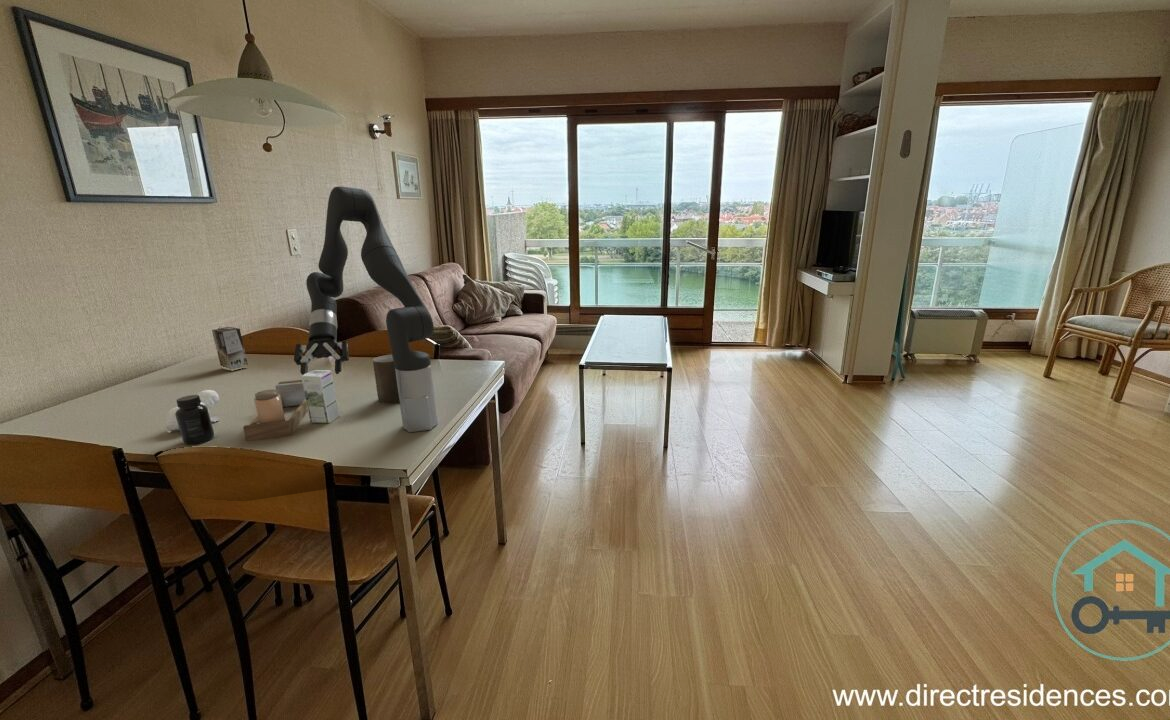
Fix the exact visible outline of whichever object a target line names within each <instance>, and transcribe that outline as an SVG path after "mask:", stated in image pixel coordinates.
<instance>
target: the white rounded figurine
mask: <svg viewBox="0 0 1170 720" xmlns="http://www.w3.org/2000/svg"><path fill="white" fill-rule="evenodd" d="M196 395H199V397H200V400H201V403H200V404H203V405H205V406H206V407H207V408H208V412H209V411H210V410H209V409H211V408H213V407H215V406H216V405H217V404H218V403H219V402H220V396H219V394H218V392H217V391H215V390H213V389H204V390H202V391H199V392H198V393H197V394H196ZM178 409H179V407H178V406H176V407H173V408H171V409H170V410H169V411H168V412H167V413H166V417H165V422H164V425H163V426H162V427H163V428H164V429H165V431H172V432H173V431H180V430H179V427H178V423H177V420H176V416H175V413H176V411H177V410H178ZM209 416H210V419H211V422H212V423H213V422H214V423H217V422H216V421H218V420H219V421H220V418H219V417H218V416H216V415H214V414H211V413H210V412H209ZM219 421H218V422H219Z"/></svg>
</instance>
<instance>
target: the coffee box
mask: <svg viewBox="0 0 1170 720" xmlns="http://www.w3.org/2000/svg"><path fill="white" fill-rule="evenodd" d="M211 333H212V337H213V341H214V345H215V350H216V352H217V357H218V360H219V364H220V367H221V366H223V367H226V368H229V369H235V368H240V367H245V366H248V367H249V363H248V358H247V355H246V350H245V346H244V342H243V337H242V333H241V328H237V327H232V326H224V327H221V328H220V327H219V328H217V329H211Z"/></svg>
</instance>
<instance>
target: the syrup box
mask: <svg viewBox="0 0 1170 720" xmlns="http://www.w3.org/2000/svg"><path fill="white" fill-rule="evenodd" d="M301 380H302V383H303V387H304V392H305V397H306V402H307V407H308V411H307V413H308V416H309V421H310V423H311V424H330V423H331V422H333V421H335V420H336V419H337V418H339V417H340V411H339V406H338V401H337V397H336V396H337V395H336V390H335V385H334V378H333V374H332V370H327V369H324V370H323V369H320V370H319V369H318V370H315V369H314V370H313V369H312V370H310V371H309V370H308V372H307V373H305V374H304V375H302V374H301Z"/></svg>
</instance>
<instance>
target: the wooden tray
mask: <svg viewBox="0 0 1170 720" xmlns="http://www.w3.org/2000/svg"><path fill="white" fill-rule="evenodd" d="M295 382H302V379H295V380H293V379H292V380H285V381H284V380H283V381H279V382H278V383H277V384H285V383H295ZM307 413H308V407H307V402H306V398H305V399H304V401H303V402H302V403H301V405H298V407H297V408H296V410H295V412H294V413H292V415H291V416H290V418H289V419H288V420H285V421H280V422H271V423H262V424H260V423H259V419H258V415H257V416H256V417H255V419H253V420H252V421H251V422H250V423H249V424H246V425H243V427H242V428H243V432H244V436H245V441H247V442H249V441H255V440H257V441H258V440H266V439H274V438H281V437H288V436H289V437H290V436H292V434H293V433H294V432H295V430H296V429H297V428H298V426H299V424H301V423H300V422H302V420H303V418H304V417H305V416H306V414H307Z"/></svg>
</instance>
